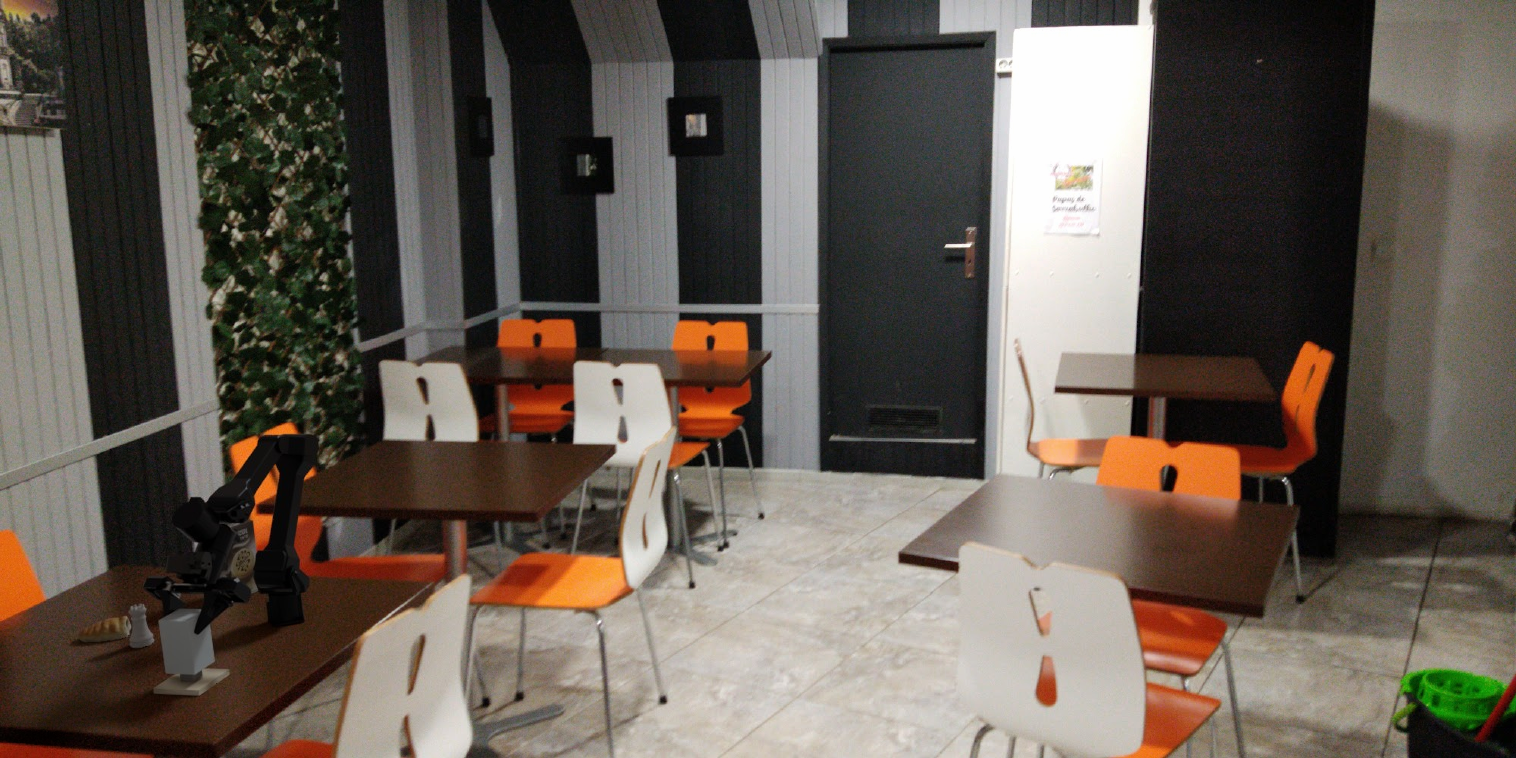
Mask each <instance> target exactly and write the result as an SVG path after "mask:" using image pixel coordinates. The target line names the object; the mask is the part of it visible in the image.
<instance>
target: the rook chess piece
mask: <svg viewBox="0 0 1516 758" xmlns="http://www.w3.org/2000/svg"><path fill="white" fill-rule="evenodd" d="M146 612H147V608H146V607H145V604H144V603H138V606H137V604H133V605H131V606H130V607H129V610H128V614H129V615H130V617H131V618H130V621H131V623H132V624H131V629H132V631H131V634H130V636H129V646H130V647H131V648H132V649H142V648H143V647H144V648H146V647H145V646H147V647H149V646H151V645H153V644H154V642H155V638H154V634H153V632H151V630H150V629H149V627H148V623H147V619H146V618H147V615H146ZM152 643H153V644H152Z"/></svg>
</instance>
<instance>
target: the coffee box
mask: <svg viewBox="0 0 1516 758" xmlns="http://www.w3.org/2000/svg"><path fill="white" fill-rule="evenodd" d="M223 524H226V525H228V526H229V527H230V528H231V529H237V532H238V534H239V536H240V538H241V542H240V543H232V546H231V549H230V551H229V554H228V557H227V559H226V562H225V563H226V564H227V565H228V566H229V567H228V569H227V571H222V573H221V575H220V578H221V577H237V578H239V579H240V580H241V581H242V582H244V583H245V584H246V585H247V586H248V587H249V588H250V589H251V595H252V594H254V593H257V592H259V591H258V589H257V586H256V584H255V581H254V578H253V567H254V564H255V556H256V553H257V551H258V550H257V543H256V536H255V527H254V526H255V525H254V520H252V519H248V520H247V521H246V522H245V523H223ZM232 603H233V604H234V602H233V601H232Z"/></svg>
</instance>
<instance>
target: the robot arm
mask: <svg viewBox="0 0 1516 758" xmlns="http://www.w3.org/2000/svg"><path fill="white" fill-rule="evenodd" d="M256 442H257V443H256V446H255V447H254V449H253V450H252V451H251V453H250V454H249V456H248V457H247V459H246V460H245V461H244V462H243V464H242V465H241V467H240V468H239V470H238V471H237V473H236V474H235V476H234V477H233V478H232V479H231V480H230V481H229V482H227V483H224V484H223V485H221V486H219V487H218V488H217V489H216V490H215V491H214V492H212V494H211V495H210V496H209V497H208V499H207V500H206V501H205V500H204V499H203V498H202V497H201V496H190V498H189V500H188V502H184V503H183V504H181V505H180V506H179V507H177V509H176V511H173V514H172V517H171V522H172V523H171V524H172V525H173V526H174V527H175V528H176V529H177V530H178V531H179V532H180V533H182V534H183V535H184V536H185V537H187V538H188V539H189V540H190V541H191V542H193V543H197V545H196V546H195V549H194V552H193V551H189V552H188V553H187V554H186V555H182V554H181V555H180V554H179V555H176V554H175V555H173V554H168V555H167V559H166V566H165V571H164V573H165V574H176V576H175V577H176V578H177V579H178V580H181V581H182V582H176V581H175V580H174V579H172V578H171V577H170V576H169V575H153V574H152V575H149V576H148V577H146V578H145V580H144V582H143V585H142V587H141V589H143V590H144V591H145V592H146V593H147V594H149V595H150V596H152V597H153V598H154V599H156V600H157V601H160V602H161V603H162V618H164V617H166V616H167V615H169V614H171V613H173V612H174V611H176V610H178V609H185V608H184V607H185V606H186V602H184V601H183V600H182V599H181V596H182V595H187V594H188V595H203V603H202V607H201V608H200V609H201V612H200V615H199V617H198V620H197V623H196V626H195V630H194V633H195V634H196V635H199V634H200V633H201V632H202V631H203V630H204V629H205V628H206V627H207V626H208V625H209V624H210V625H211V624H212V622H214V621H215V619H216V618H218V617H219V616H220V615H222V614H223V613H224V612H225V611H226V610H228V608H233V607H234V604H249V601H250V599H251V597H252V594H251V589H250V588H249V587H248V586H247V585H246V584H245V583H244V582H242V581H241V580H240V579H239V578H237V577H221V578H220V575H221V573H222V571H227V569H228V567H229V566H228V565H227V564H226V563H225V562H226V559H227V557H228V554H229V551H230V549H231V546H232V543H240V542H241V538H240V536H239V534H238V532H237V529H231V528H230V527H229V526H228V525H226V524H223V523H245V522H246V521H247V520H250V519H249V518H250V517H251V516H252V513H253V510H254V509H255V507H256V498H255V497H256V493H257V492H258V490H259V489H260V487H261V486H262V485H263V483H264V481H265V480H266V478H267V477H268V476H269V474H270V472H271V471H272V469H273V468H274V466H275V467H276V469H277V472H278V481H277V488H276V494H275V500H274V506H273V513H272V519H271V526H270V530H269V538H268V543H267V545H266V546H265V547H264V548H263V549H262V550H261V549H260V550H256V551H257V553H256V556H255V564H254V567H253V578H254V581H255V584H256V586H257V589H258V591H257V592H258V593H259V595H268V598H266V599H265V606H266V616H267V621H268V622H269V623H270V627H271V628H274V627H280V626H287V625H292V624H297V623H298V624H299V623H303V622H305V621H306V620H305V619H306V617H305V609H304V608H303V607H304V606H303V598H302V594H303V593H306V592H307V589H309V588H310V576H308V575H307V574H306V573H305V572H304V571H303V570H302V569H301V567H300V566H301V559H300V556H299V554H298V552H297V550H296V547H295V543H296V542H295V541H296V535H297V529H298V523H299V516H300V509H301V504H302V503H301V502H302V497H303V496H302V495H303V490H304V489H303V488H304V484H305V482H304V481H305V478H306V476H307V475H308V474H309V472H310V471H311V470H312V469H313V468H314V466H315V464H316V461H317V456H318V453H319V452H320V451H319V450H320V443H319V441H318V440H317V439H316V438H315V436H314V435H313V434H311V433H282V434H263V435H262V436H261V435H260V436H259V438H258V440H257V441H256ZM181 594H182V595H181ZM232 601H233V603H232Z"/></svg>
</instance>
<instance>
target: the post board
mask: <svg viewBox="0 0 1516 758" xmlns="http://www.w3.org/2000/svg"><path fill="white" fill-rule="evenodd" d="M228 676H230V669H229V668H226V669H225V668H209V667H208V668H207V667H206V668H204V669H203V670H201V671H200V672H198V673H197V674H195V675H190V674H172V676H170V677H168V678H167V679H166V680H164V681H162V682H161V683H159V684H158V685H156V686H155V687H153V688H152V689H153V694H157V695H177V696H178V695H179V696H198V697H199V696H201V695H202V694H203V693H204V694H205V692H207V691H208V690H210V689H211V688H212V687H214V686H215V685H217V684H218V683H220V682H221V681H222V680H224V679H225V678H226V677H228ZM216 683H217V684H216Z"/></svg>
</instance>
